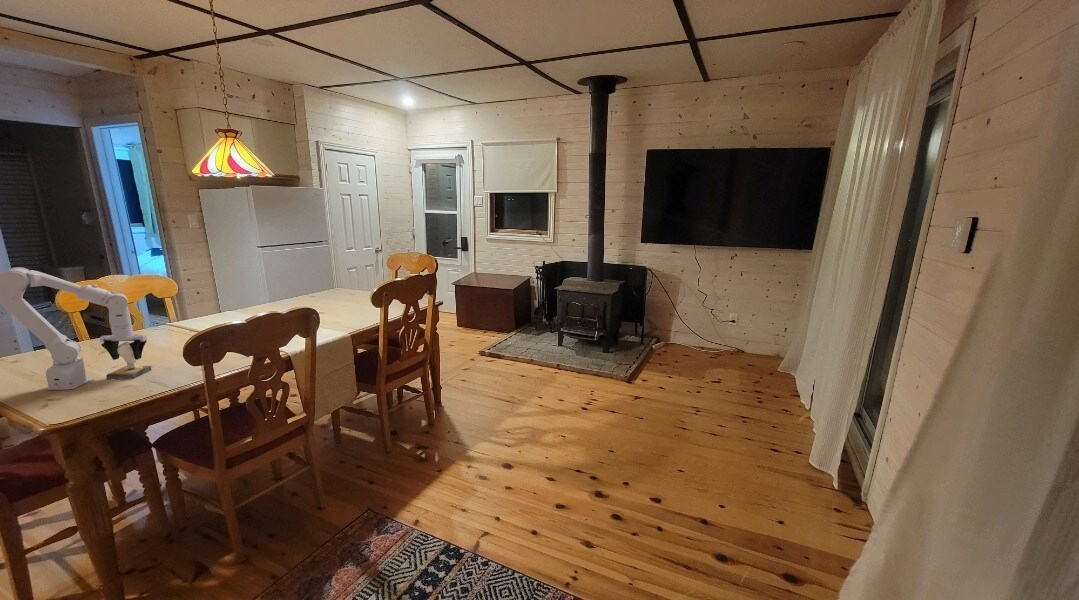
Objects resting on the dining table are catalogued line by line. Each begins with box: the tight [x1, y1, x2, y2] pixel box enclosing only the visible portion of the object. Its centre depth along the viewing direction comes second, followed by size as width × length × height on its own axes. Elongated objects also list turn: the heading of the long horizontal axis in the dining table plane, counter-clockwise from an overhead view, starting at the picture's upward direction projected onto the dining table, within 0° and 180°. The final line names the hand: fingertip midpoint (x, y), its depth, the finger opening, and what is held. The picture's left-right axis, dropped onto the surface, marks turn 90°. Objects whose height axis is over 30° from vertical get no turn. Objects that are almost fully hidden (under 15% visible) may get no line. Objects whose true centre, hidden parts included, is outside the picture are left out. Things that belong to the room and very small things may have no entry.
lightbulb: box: [117, 341, 138, 369], centre depth 165 cm, size 6×6×11 cm
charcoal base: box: [105, 365, 152, 380], centre depth 165 cm, size 9×9×2 cm
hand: (127, 358), depth 164 cm, fingers open, 7 cm apart
